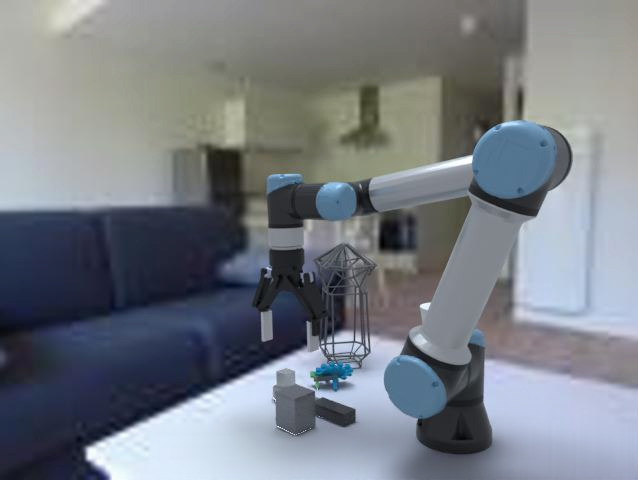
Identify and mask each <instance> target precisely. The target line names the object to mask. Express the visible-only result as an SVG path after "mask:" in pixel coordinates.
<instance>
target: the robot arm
mask: <svg viewBox="0 0 638 480" xmlns="http://www.w3.org/2000/svg"><path fill="white" fill-rule="evenodd" d="M573 159H574V155H573V150H572V146H571V144H570V142H569V141H568V139H567V138H566V137H565V135H564V134H562V132H560V131H559V130H557V129H556V128H553V127H550V126H547V125H542V124H538V123H536V122H535V121H534V122H533V121H529V120H528V121H527V120H524V119H523V120H522V119H521V120H512V121H510V120H509V121H505V122H502V123H499V124H497V125H496V126H493V127H492V128H490V129H488V131H486V132H485V133H484V134H483V135H482V136H481V137H480V139H479V140H478V142H477V144H476V146H475V147H474V150H473V153H472V154H471V155H469V154H468V155H466V156H461V157H457V158H456V157H455V158H453V159H450V160H449V159H448V160H443V161H439V162H435V163H431V164H427V165H423V166H419V167H418V166H417V167H414V168H409V169H406V170H402V171H401V170H400V171H396V172H393V173H389V174H384V175H379V176H374V177H370V178H366V179H361V180H357V181H344V182H343V181H342V182H341V181H329V182H311V183H306V182H304V181H303V176H302V174H300V173H283V174H281V173H280V174H279V173H278V174H277V173H275V174H270V175H269V176H268V177H267V179H266V180H267V181H266V195H265V196H266V205H267V220H268V225H267V227H268V229H267V230H268V232H267V236H268V237H267V238H268V241H267V243H268V247H270V248H269V250H268V264H269V266H267V267H262V268H261V269H260V277H259V282H258V285H257V287H256V290H255V293H254V296H253V300H252V301H251V302H252V303H251V306H252V308H255V309H257V311H258V314H259V324H260V327H261V330H260V332H261V342H263V343H264V342H267V341H271V340H273V339H274V335H273V334H274V333H273V332H274V331H273V311H272V310H271V307H272V304H273V303H274V302H275V300H276V298H277V297H278V295H279V294H280V292H283V291H285V292H287V293H292V295H294V296H295V297H296V299H297V301H298V302H299V304H300V305H301V307H302V308H303V310H304V312H305V314H306V316H307V317H308V320H307V321H306V341H307V342H306V343H307V353H313V352H315V351H318V350H320V347H319V340H320V333H321V327H320V323H321V319H325V318H326V317H328V318H329V311H328V312H327V309H326V303H325V301H323V299H322V293H321V292H320V288H319V287H318V286H319V285H318V283H317V279H316V278H317V277H316V272H315V271H309V272H304V270H303V267H304V265H305V249H304V247H302V246H304V245H305V239H304V238H305V235H304V234H305V233H304V232H305V231H304V230H305V229H304V223H305V222H304V221H305V220H308V221H309V220H310V221H311V220H312V221H328V222H340V221H346V220H349V219H350V218H354V217H367V216H371V215H373V214H378V213H383V212H387V211H393V210H399V209H404V208H409V207H414V206H416V207H417V206H421V205H426V204H432V203H436V202H442V201H443V202H444V201H447V200H452V199H458V198H459V199H460V198H464V197H469V199H470V201H471V205H470V209H469V211H468V213H467V216H466V217H465V220H464V222H463V225H462V227H461V230H460V232H459V235H458V237H457V239H456V241H455V244H454V246H453V249H452V252H451V254H450V256H449V259H448V262H447V263H446V267H445V269H444V270H443V273H442V275H441V277H440V280H439V283H438V285H437V288H436V290H435V292H434V295H433V297H432V300H431V301H430V302H431V304H430V306H429V309H428V311H427V314H426V316H425V318H424V321H423V323H421V324H420V325H417V326H414V327H412V328H411V329H410V331H409V332H408V335H407V336H406V340H405V343H404V344H403V347H402V349H401V352H400V353H399V354H398V355H397V356H395V357H393V358H392V359H391V360H390V362H389V363H388V364H387V365H386V367H385V369H384V373H383V386H384V390H385V391H386V394H387V395H388V398H389V400H390V401H391V403H392V405H393V406H395V407H396V409H397V410H399V411H400V412H401V413H403V414H405V416H407V417H410V418H413V419H417V420H416V427H415V429H416V430H415V433H416V437H417V440H419V442H421V444H422V445H425V446H427V447H428V448H431V449H434V450H437V451H441V452H444V453H451V454H473V453H478V452H481V451H484V450H485V449H487V448H488V447H489V446H491V444H492V443H493V430H492V429H493V428H492V425H491V423H490V422H491V421H490V419H489V415H488V413H487V409H486V406H485V402H484V401H485V400H484V399H485V398H484V397H485V395H484V394H485V391H484V390H485V360H486V359H485V357H486V356H485V355H486V353H485V352H486V350H485V349H487V347H486V344H485V343H486V342H485V334H484V332H483V331H481V330H480V329H478V328H476V327H477V325H478V323H479V320H480V319H481V316H482V315H483V312H484V309H485V307H486V305H487V303H488V301H489V299H490V296H491V295H492V292H493V289H494V288H495V286H496V283H497V281H498V279H499V276H500V275H501V272H502V270H503V267H504V265H505V263H506V260H507V259H508V256H509V254H510V252H511V249H512V248H513V245H514V244H515V242H516V240H517V236H518V234H519V232H520V231H521V227H522V225H523V224H524V223H527V222H528V221H531V220H534V219H536V218H537V217H538V214H539V212H540V210H541V209H542V206H543V204H544V201H545V199H546V197H547V195H548V193H549V192H551V191H552V190H555V189H557V188H558V187H559V186H560V185H561V184H563V183H564V181H566V179H567V177H568V176H569V174H570V172H571V169H572V167H573ZM321 312H322V313H321Z"/></svg>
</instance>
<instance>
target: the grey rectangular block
mask: <svg viewBox="0 0 638 480" xmlns="http://www.w3.org/2000/svg"><path fill="white" fill-rule="evenodd" d="M275 395H276V403H275V426H276V425H277V426H279V427H281V428H283V429H285V430H287V431H289V432H291V433H293V434H295V435H296V434H298V433H301V432H303V431H305V430H308V429H310V428H312V429H314V428H316V427H317V424H316V423H317V420H316V419H317V418H316V417H317V416H316V411H315V397H316V390H313V389H312V388H309V387H305V386H303V385H300V384H297V383H295V385H292V386H289V387H287V388H284V389H281V390H278V391H276V392H275ZM315 426H316V427H315ZM313 427H314V428H313ZM310 430H311V429H310ZM308 431H309V430H308ZM303 433H304V432H303ZM301 434H302V433H301Z"/></svg>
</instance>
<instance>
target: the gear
mask: <svg viewBox="0 0 638 480" xmlns="http://www.w3.org/2000/svg"><path fill="white" fill-rule="evenodd" d="M334 362H335V361H334ZM334 362H329V365H328V364H326V363H322V364H320V367H319V366H316V368H315V371H313V370H312V371H310V372H309V376H310V377H309V378H311V379H313V382H314V383H315V389H316V388H319V389H320V383H321V382H330V381H332V388H333V389H332V390H333V391H334V390H337V391H338V382H339V381H340V380H339V379H341V380H342V381H343V380H344V381H345V380H347V377H351V376H352V375H353V372H354V369H353V368H354V367H352V365H351V363H343V362H344V361H337V362H338V366H337V364H334ZM344 364H345V366H344ZM319 382H320V383H319Z"/></svg>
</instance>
